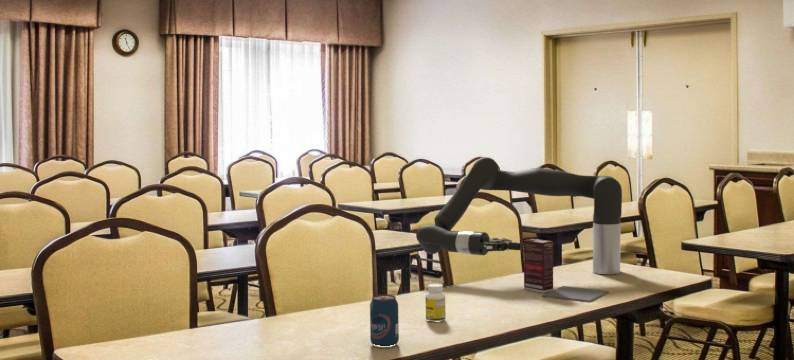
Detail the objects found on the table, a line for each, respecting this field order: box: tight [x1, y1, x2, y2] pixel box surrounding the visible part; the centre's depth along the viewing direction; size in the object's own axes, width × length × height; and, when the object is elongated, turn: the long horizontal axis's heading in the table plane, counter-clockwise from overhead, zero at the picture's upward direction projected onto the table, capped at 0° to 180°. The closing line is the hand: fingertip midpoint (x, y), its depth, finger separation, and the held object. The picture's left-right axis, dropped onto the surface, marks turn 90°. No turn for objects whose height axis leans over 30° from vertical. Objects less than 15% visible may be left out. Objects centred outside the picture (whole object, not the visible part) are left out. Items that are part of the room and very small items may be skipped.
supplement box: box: [523, 238, 554, 294], centre depth 282 cm, size 9×5×16 cm, turn 39°
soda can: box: [369, 294, 400, 346], centre depth 221 cm, size 7×7×12 cm
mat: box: [542, 285, 610, 303], centre depth 276 cm, size 16×15×1 cm
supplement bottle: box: [425, 283, 447, 322], centre depth 245 cm, size 5×5×10 cm
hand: (520, 246), depth 285 cm, fingers closed
